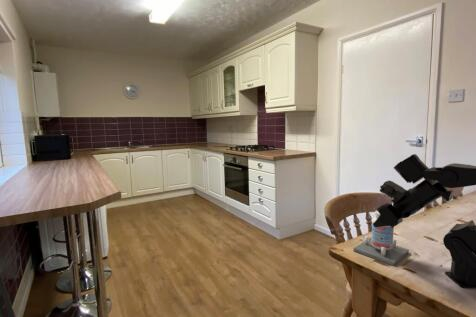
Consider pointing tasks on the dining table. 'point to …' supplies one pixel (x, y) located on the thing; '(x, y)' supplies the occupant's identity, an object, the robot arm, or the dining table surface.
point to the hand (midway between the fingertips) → (378, 223)
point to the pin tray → (381, 252)
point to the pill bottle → (381, 235)
